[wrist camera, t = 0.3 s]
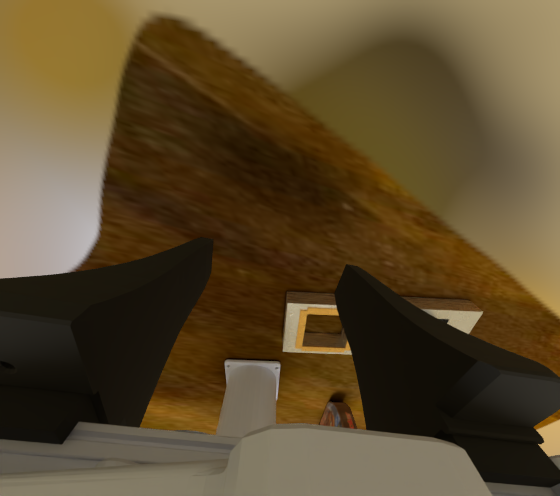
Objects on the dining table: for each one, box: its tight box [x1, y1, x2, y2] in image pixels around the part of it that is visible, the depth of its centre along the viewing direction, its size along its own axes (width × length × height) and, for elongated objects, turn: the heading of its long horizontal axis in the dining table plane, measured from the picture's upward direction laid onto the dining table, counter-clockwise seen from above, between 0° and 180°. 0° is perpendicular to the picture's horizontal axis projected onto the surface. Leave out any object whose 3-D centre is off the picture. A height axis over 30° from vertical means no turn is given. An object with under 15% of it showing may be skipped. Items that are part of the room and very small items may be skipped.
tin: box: [319, 402, 357, 429], centre depth 33 cm, size 15×3×8 cm, turn 173°
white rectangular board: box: [283, 291, 483, 354], centre depth 25 cm, size 8×22×2 cm, turn 87°
